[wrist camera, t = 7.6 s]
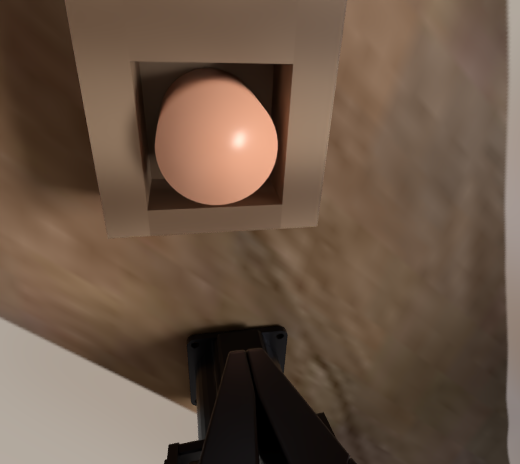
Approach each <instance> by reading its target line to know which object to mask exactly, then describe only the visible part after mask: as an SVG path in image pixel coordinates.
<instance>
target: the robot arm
mask: <svg viewBox="0 0 520 464" xmlns="http://www.w3.org/2000/svg"><path fill="white" fill-rule="evenodd" d="M278 334H280V335H278ZM194 342H197V343H194ZM286 345H287V332H286V329H285V328H284V327H281V326H278V327H268V328H258V329H249V330H239V331H229V332H219V333H209V334H199V335H192V336H190V337H189V338H188V339H187V352H188V366H189V379H190V392H191V403H192V404H193V405H195V406H197V417H198V438H199V440H198V441H192V442H188V443H183V444H179V443H174V444H170V445H169V448H168V456H167V459H166V460H165V461H164V464H356V462H355V461H354V460H353V459H352V458H350V455H349V454H348V453H347V451H346V450H345V449H344V448H343V447H342V445H341V444H340V443H339V442H338V440H337V439H336V437H335V435H334V433H333V431H332V429H331V427H330V425H329V422H328V420H327V418H326V416H325V414H324V412H323V413H318V414H316V413H315V412H314V411H313V410H312V408H311V407H310V406H309V405H308V403H307V402H306V401H305V400H304V399H303V397H302V396H301V395H300V394H299V392H298V391H297V390H296V389H295V387H294V386H293V385H292V384H291V383H290V381H289V380H288V379H287V378H286V376H285V375H284V374H283V373H284V364H285V354H286ZM349 458H350V459H349Z"/></svg>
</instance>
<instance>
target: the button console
mask: <svg viewBox="0 0 520 464" xmlns="http://www.w3.org/2000/svg"><path fill="white" fill-rule="evenodd" d="M64 1H65V6H66V12H67V17H68V23H69V28H70V34H71V39H72V45H73V50H74V56H75V61H76V67H77V72H78V78H79V83H80V88H81V94H82V99H83V105H84V110H85V116H86V121H87V127H88V132H89V138H90V143H91V149H92V154H93V160H94V165H95V171H96V176H97V181H98V187H99V192H100V198H101V203H102V209H103V214H104V220H105V225H106V231H107V236H108V238H124V237H142V236H160V235H177V234H195V233H213V232H230V231H248V230H266V229H283V228H301V227H317V224H318V216H319V209H320V201H321V194H322V186H323V179H324V171H325V163H326V156H327V148H328V141H329V133H330V126H331V118H332V111H333V103H334V95H335V88H336V80H337V73H338V65H339V58H340V50H341V42H342V35H343V27H344V20H345V12H346V5H347V0H64ZM201 68H215V69H220V70H224V71H227V72H229V73H231V74H233V75H235V76H236V77H238V78H239V79H241V80H242V81H243V82H244V83H245V84H246V85H247V86H248V88H249V89H250V90H251V91H252V93H253V94H254V95H255V97H256V98H257V99H258V101H259V102H260V103H261V105H262V106H263V107H264V109H265V110H266V111H267V113H268V114H269V116H270V118H271V119H272V122H273V124H274V126H275V130H276V134H277V141H278V150H277V157H276V161H275V164H274V167H273V169H272V171H271V173H270V175H269V177H268V178H267V180H266V181H265V182H264V183H263V184H262V186H261V187H260V188H259V189H257V190H256V191H255V192H254V193H252V194H251V195H249V196H248V197H246V198H244V199H242V200H240V201H237V202H234V203H230V204H224V205H208V204H202V203H198V202H195V201H193V200H190V199H188V198H186V197H184V196H183V195H181V194H180V193H178V192H177V191H176V190H175V189H174V188H172V187H171V185H170V184H169V183H168V182H167V181H166V179H165V178H164V176H163V175H162V173H161V171H160V169H159V166H158V163H157V160H156V154H155V138H156V131H157V124H158V117H159V110H160V105H161V101H162V99H163V97H164V95H165V93H166V91H167V89H168V88H169V87H170V86H171V84H172V83H173V82H174V81H175V80H177V79H178V78H179V77H181V76H182V75H184V74H186V73H188V72H190V71H193V70H196V69H201Z"/></svg>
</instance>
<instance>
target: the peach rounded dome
mask: <svg viewBox="0 0 520 464" xmlns="http://www.w3.org/2000/svg"><path fill="white" fill-rule="evenodd" d="M277 150H278V141H277V134H276V130H275V126H274V124H273V122H272V119H271V118H270V116H269V114H268V113H267V111H266V110H265V109H264V107H263V106H262V105H261V103H260V102H259V101H258V99H257V98H256V97H255V95H254V94H253V93H252V91H251V90H250V89H249V88H248V86H247V85H246V84H245V83H244V82H243V81H242V80H241V79H239V78H238V77H236V76H235V75H233V74H231V73H229V72H227V71H224V70H220V69H215V68H201V69H196V70H193V71H190V72H188V73H186V74H184V75H182V76H181V77H179V78H178V79H177V80H175V81H174V82H173V83H172V84H171V86H170V87H169V88H168V89H167V91H166V93H165V95H164V97H163V99H162V101H161V105H160V110H159V117H158V124H157V131H156V138H155V154H156V160H157V163H158V166H159V169H160V171H161V173H162V175H163V176H164V178H165V179H166V181H167V182H168V183H169V184H170V185H171V187H172V188H174V189H175V190H176V191H177V192H178V193H180V194H181V195H183V196H184V197H186V198H188V199H190V200H193V201H195V202H198V203H202V204H208V205H224V204H230V203H234V202H237V201H240V200H242V199H244V198H246V197H248V196H249V195H251V194H252V193H254V192H255V191H256V190H257V189H259V188H260V187H261V186H262V184H263V183H264V182H265V181H266V180H267V178H268V177H269V175H270V173H271V171H272V169H273V167H274V164H275V161H276V157H277Z"/></svg>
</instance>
